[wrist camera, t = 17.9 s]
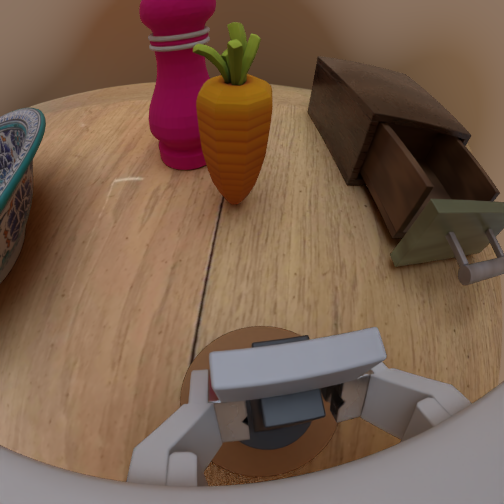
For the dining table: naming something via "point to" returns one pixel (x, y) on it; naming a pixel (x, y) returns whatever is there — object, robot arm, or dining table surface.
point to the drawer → (434, 199)
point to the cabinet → (369, 110)
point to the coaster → (248, 458)
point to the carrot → (234, 116)
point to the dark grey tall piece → (290, 380)
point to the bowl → (16, 179)
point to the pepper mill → (177, 76)
